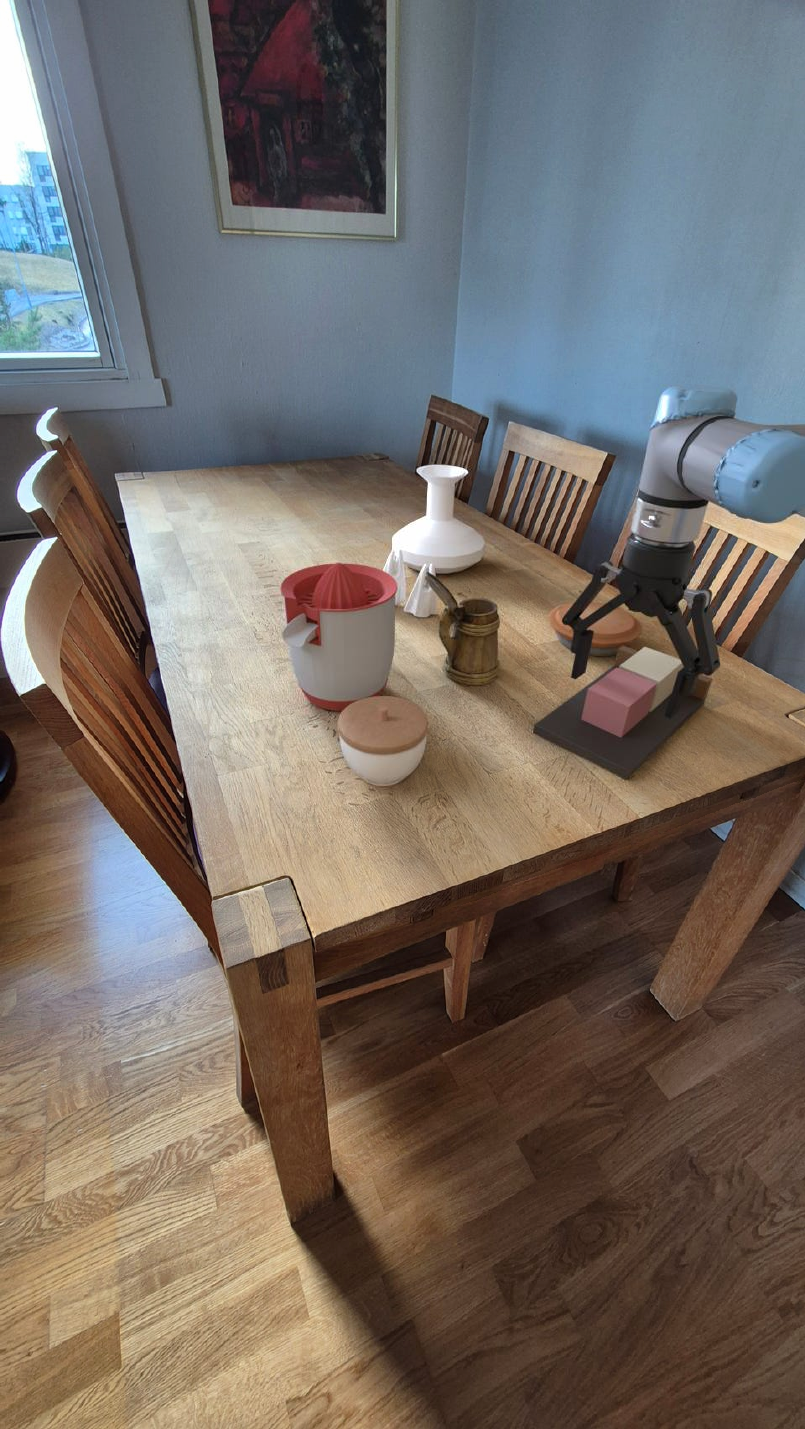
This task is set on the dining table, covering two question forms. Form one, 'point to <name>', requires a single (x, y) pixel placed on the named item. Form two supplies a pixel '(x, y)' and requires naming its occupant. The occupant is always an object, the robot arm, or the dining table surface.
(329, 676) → the citrus juicer
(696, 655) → the robot arm
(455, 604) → the wooden mug
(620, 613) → the pie
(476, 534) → the white vase
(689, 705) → the backrest board
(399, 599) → the shaker set
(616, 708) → the pink block
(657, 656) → the cream block
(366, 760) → the trinket box
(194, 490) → the dining table surface
